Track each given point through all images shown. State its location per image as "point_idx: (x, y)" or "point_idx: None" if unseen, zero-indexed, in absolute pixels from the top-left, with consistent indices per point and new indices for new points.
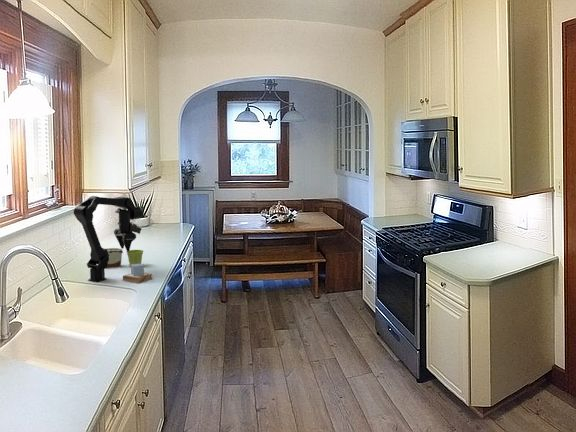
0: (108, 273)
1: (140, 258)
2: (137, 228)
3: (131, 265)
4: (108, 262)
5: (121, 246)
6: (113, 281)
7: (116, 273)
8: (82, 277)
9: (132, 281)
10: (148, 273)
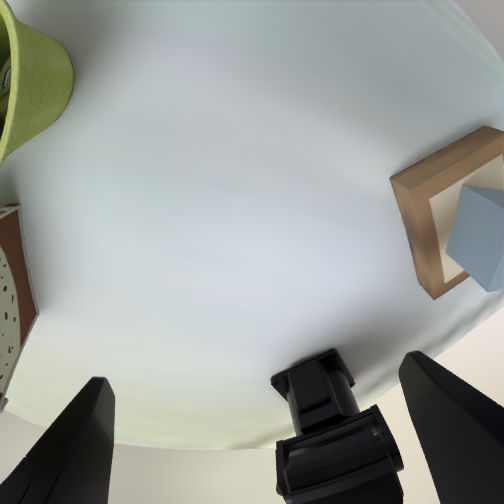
0: (186, 319)
1: (34, 34)
2: None
3: (496, 288)
4: (14, 309)
5: (112, 429)
6: (394, 324)
7: (213, 278)
8: (218, 417)
9: None
10: (490, 142)
